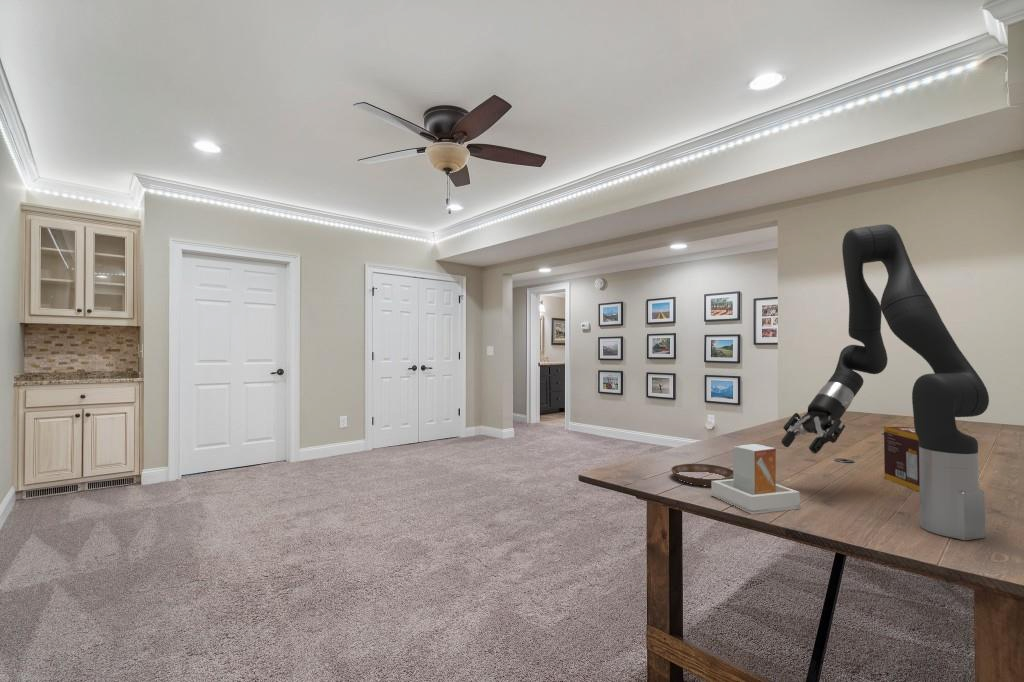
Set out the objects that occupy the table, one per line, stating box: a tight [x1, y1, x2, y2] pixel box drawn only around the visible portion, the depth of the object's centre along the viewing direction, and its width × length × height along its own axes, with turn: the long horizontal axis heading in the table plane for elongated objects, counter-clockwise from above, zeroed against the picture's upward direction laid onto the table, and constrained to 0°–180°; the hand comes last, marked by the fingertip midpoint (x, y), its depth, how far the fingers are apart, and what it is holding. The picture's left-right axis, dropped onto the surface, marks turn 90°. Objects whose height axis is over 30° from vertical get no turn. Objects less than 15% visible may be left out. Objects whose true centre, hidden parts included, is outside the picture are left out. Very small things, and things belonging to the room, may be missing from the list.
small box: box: [732, 443, 777, 495], centre depth 120 cm, size 8×6×13 cm
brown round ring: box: [670, 463, 733, 487], centre depth 140 cm, size 18×18×3 cm
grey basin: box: [710, 479, 801, 515], centre depth 120 cm, size 14×14×4 cm
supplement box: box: [883, 425, 920, 493], centre depth 134 cm, size 10×15×16 cm
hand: (797, 448), depth 124 cm, fingers open, 8 cm apart
